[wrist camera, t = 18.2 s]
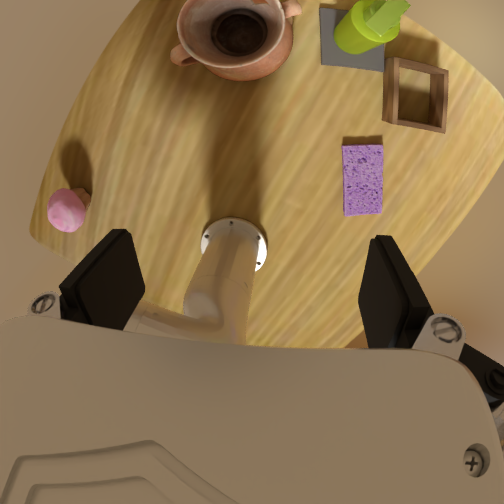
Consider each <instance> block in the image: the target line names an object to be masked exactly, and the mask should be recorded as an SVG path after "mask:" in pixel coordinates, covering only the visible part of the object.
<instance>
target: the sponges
mask: <svg viewBox="0 0 504 504" xmlns="http://www.w3.org/2000/svg"><path fill="white" fill-rule="evenodd" d="M342 161H343V193H344V194H343V200H344V202H343V211H344V216H354V215H361V214H363V215H364V214H379V213H382V212H381V211H382V186H383V184H382V183H383V177H382V173H383V145H382V144H354V145H342Z"/></svg>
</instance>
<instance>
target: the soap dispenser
mask: <svg viewBox="0 0 504 504" xmlns="http://www.w3.org/2000/svg"><path fill="white" fill-rule="evenodd" d="M410 6H411V5H410V4H408V2H407V1H405V0H387V1H386V0H360V1H358V2H357V3H356V4H355V5H354V6H353V7H352V8H351V9H350V11H349V12H348V13H347V14H346V15H345V17H344V18H343V19H342V20H341V21H340V23H339V24H338V25H337V26H336V28H335V30H334V40H335V42H336V44H337V46H338V47H339V48H340V49H341V50H343V51H345V52H347V53H349V54H361V53H364V52H366V51H368V50H370V49H372V48H375V47H377V46H379V45H382V44H384V43H386V42H389V41H391V40H393V39H394V38H395V37H396V36H397V35H398V33H399V30H400V18H401V16H402V15H403V13H404V12H405V11H406V10H407V9H408V8H409V7H410Z"/></svg>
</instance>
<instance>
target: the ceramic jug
mask: <svg viewBox="0 0 504 504" xmlns="http://www.w3.org/2000/svg"><path fill="white" fill-rule="evenodd" d="M300 14H302V9H301V6H300V4H299V3H298V2H297V1H296V0H288V1H285V2H283V3H280V1H279V0H187V1H186V2H185V4H184V5H183V7H182V9H181V11H180V13H179V16H178V19H177V31H178V37H179V40H180V42H181V44H179V45H177V46H176V47H174V48H173V49H172V50H171V53H170V59H171V61H172V62H173V63H174V64H176V65H179V66H188V65H192V64H196V63H202V64H203V65H204V66H205V67H206V68H207V69H208V70H210V71H211V72H212V73H214V74H216V75H217V76H220V77H222V78H225V79H228V80H234V81H250V80H256V79H259V78H262V77H265V76H267V75H269V74H271V73H273V72H274V71H276V70H277V69H278V68H279V67H280V66H281V65H282V64H283V63H284V62H285V61H286V59H287V58H288V56H289V54H290V52H291V49H292V45H293V30H292V24H293V17H292V16H295V15H300Z"/></svg>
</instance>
